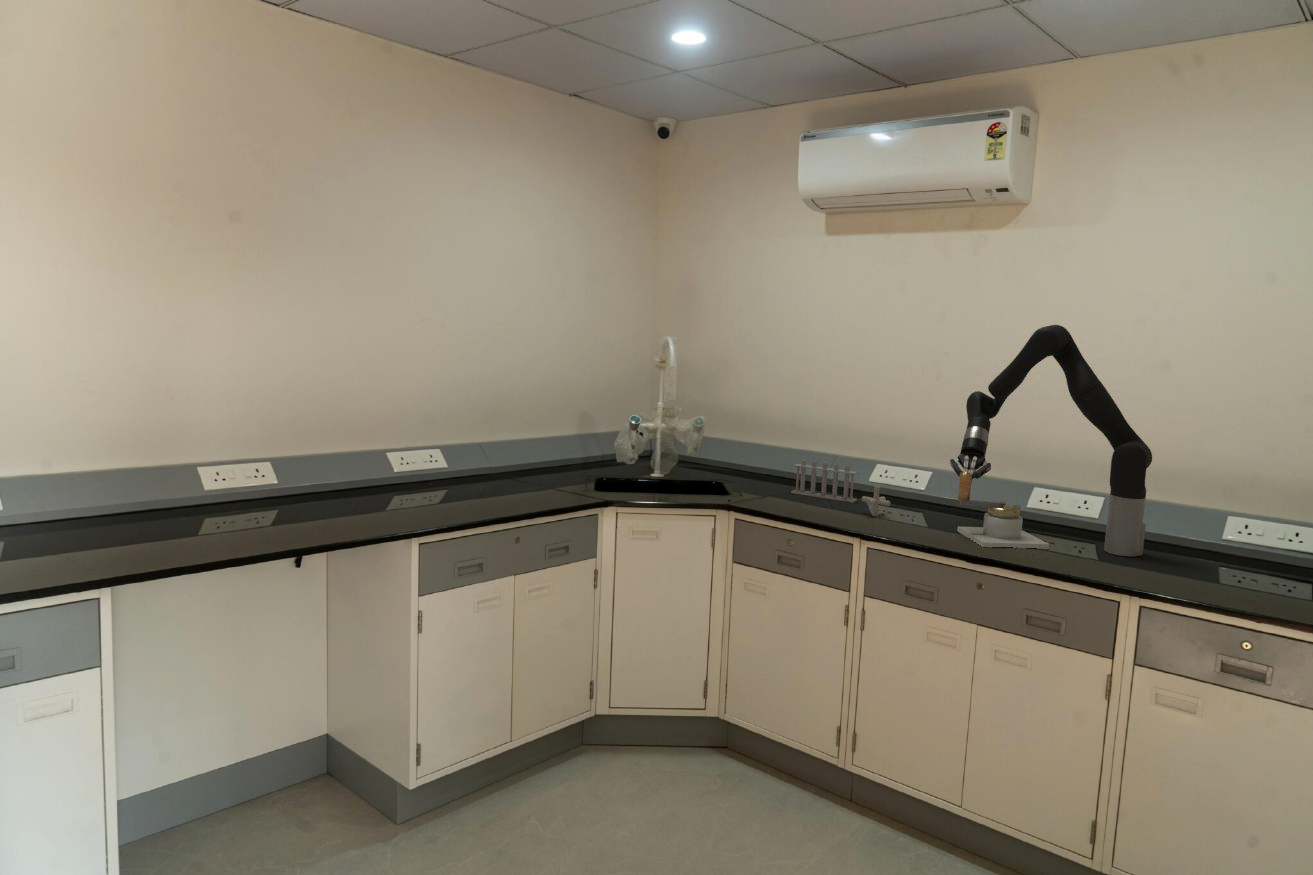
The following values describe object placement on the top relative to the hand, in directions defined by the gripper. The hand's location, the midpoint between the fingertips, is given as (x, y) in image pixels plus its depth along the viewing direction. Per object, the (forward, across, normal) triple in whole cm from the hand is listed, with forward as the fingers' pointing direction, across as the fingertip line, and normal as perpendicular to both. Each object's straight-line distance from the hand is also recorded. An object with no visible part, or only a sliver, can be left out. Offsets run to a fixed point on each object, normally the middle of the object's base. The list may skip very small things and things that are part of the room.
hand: (965, 486), depth 267 cm
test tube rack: (-11, -55, +33) cm, 65 cm away
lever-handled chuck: (+6, +7, +5) cm, 11 cm away
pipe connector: (+3, -30, +19) cm, 36 cm away
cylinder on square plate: (+10, +12, +11) cm, 19 cm away
